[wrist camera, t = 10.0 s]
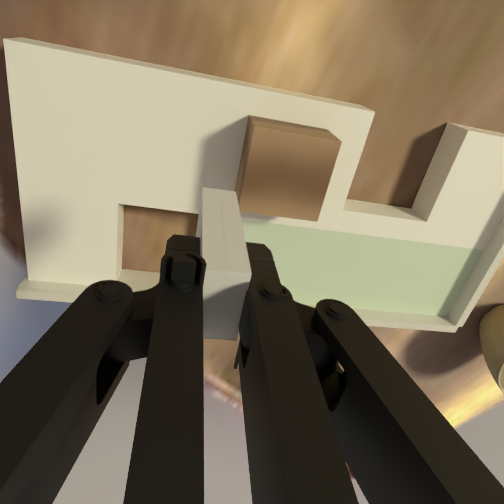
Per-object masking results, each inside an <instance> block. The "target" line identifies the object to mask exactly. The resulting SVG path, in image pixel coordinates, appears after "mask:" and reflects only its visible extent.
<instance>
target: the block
mask: <svg viewBox="0 0 504 504" xmlns="http://www.w3.org/2000/svg"><path fill="white" fill-rule="evenodd" d="M341 143H342V141H341V140H339V139H338V138H337V137H336V136H335V135H333V134H332V133H331V132H330V131H329V130H327V129H322V128H317V127H312V126H306V125H301V124H295V123H290V122H285V121H279V120H274V119H268V118H263V117H258V116H252V115H249V116H248V121H247V127H246V132H245V138H244V143H243V148H242V154H241V159H240V165H239V170H238V175H237V181H236V186H235V192H236V195H237V200H238V205H239V210H240V212H248V213H255V214H263V215H270V216H277V217H285V218H292V219H300V220H307V221H315V222H317V221H318V218H319V215H320V211H321V208H322V205H323V202H324V198H325V195H326V192H327V189H328V185H329V182H330V179H331V176H332V172H333V169H334V166H335V163H336V159H337V156H338V153H339V150H340V146H341Z"/></svg>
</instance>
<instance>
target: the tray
mask: <svg viewBox="0 0 504 504" xmlns="http://www.w3.org/2000/svg"><path fill="white" fill-rule="evenodd" d="M3 41H4V51H5V61H6V70H7V80H8V89H9V99H10V109H11V118H12V128H13V137H14V147H15V157H16V166H17V176H18V185H19V195H20V205H21V214H22V224H23V233H24V243H25V253H26V262H27V272H28V273H27V275H26V276H25V278H24V279H23V281H22V282H21V283H20V285H19V286H18V288H17V289H16V296H17V298H22V299H34V300H47V301H60V302H72V303H73V302H74V301H75V300H76V299H77V298H78V296H79V295H80V294H81V293H82V292H83V291H84V290H85V289H86V288H87V287H88V286H90V285H91V284H93V283H96V282H98V281H103V280H116V281H121V282H123V283H126V284H127V285H129V286H130V287H131V288H132V291H133V292H136V291H142V290H147V289H150V288H152V287H154V286H155V285H157V284H158V283H159V279H160V273H158V272H147V271H137V270H127V269H122V247H123V219H124V204H125V205H133V206H141V207H149V208H157V209H164V210H172V211H180V212H188V213H196V214H199V209H200V202H201V195H202V187H205V188H213V189H220V190H227V191H234V192H235V186H236V181H237V175H238V170H239V165H240V159H241V154H242V148H243V143H244V138H245V132H246V127H247V121H248V116H249V115H252V116H258V117H263V118H268V119H274V120H279V121H285V122H290V123H295V124H301V125H306V126H312V127H317V128H322V129H327V130H329V131H330V132H331V133H332V134H333V135H335V136H336V137H337V138H338V139H339V140H341V141H342V143H341V146H340V150H339V153H338V156H337V159H336V163H335V166H334V169H333V172H332V176H331V179H330V182H329V185H328V189H327V192H326V195H325V198H324V202H323V205H322V208H321V211H320V215H319V218H318V221H317V222H315V221H307V220H300V219H292V218H285V217H277V216H270V215H263V214H255V213H248V212H240V215H241V221H242V226H243V231H244V236H245V241H246V242H251V243H260V244H265V245H266V246H267V247H268V248H269V249H270V250H271V252H272V255H273V260H274V262H275V266H276V269H277V272H278V276H279V279H280V282H281V285H283V286H285V287H286V288H287V289H288V290H289V291H290V292H291V294H292V297H293V300H294V301H296V302H298V303H301V304H304V305H307V306H310V307H314V308H315V307H316V304H317V303H318V302H319V301H320V300H323V299H334V300H338V301H341V302H343V303H345V304H347V305H349V306H350V307H351V308H352V309H353V310H354V311H355V312H356V313H357V314H358V316H359V317H360V318H361V319H362V320H363V322H364V323H365V324H366V325H367V326H377V327H390V328H403V329H416V330H428V331H441V332H454V333H455V332H456V331H457V329H458V327H463V325H464V323H465V322H466V320H467V318H468V317H469V315H470V313H471V312H472V310H473V308H474V306H475V305H476V303H477V301H478V300H479V298H480V296H481V295H482V293H483V291H484V290H485V288H486V286H487V285H488V283H489V281H490V279H491V278H492V276H493V274H494V273H495V271H496V269H497V268H498V266H499V264H500V263H501V261H502V259H503V258H504V133H499V132H494V131H489V130H484V129H479V128H474V127H469V126H464V125H459V124H454V123H449V122H448V123H447V125H446V127H445V130H444V132H443V135H442V137H441V139H440V142H439V144H438V146H437V149H436V151H435V153H434V156H433V158H432V160H431V163H430V165H429V167H428V170H427V172H426V174H425V177H424V179H423V181H422V184H421V186H420V188H419V191H418V193H417V195H416V198H415V200H414V202H413V205H412V207H411V208H405V207H398V206H392V205H385V204H378V203H371V202H364V201H358V200H351V199H346V198H347V195H348V192H349V189H350V186H351V183H352V180H353V177H354V174H355V171H356V168H357V165H358V162H359V159H360V156H361V153H362V150H363V147H364V144H365V141H366V138H367V135H368V132H369V129H370V126H371V123H372V120H373V117H374V114H375V112H374V111H372V110H370V109H368V108H366V107H364V106H362V105H359V104H354V103H349V102H344V101H339V100H334V99H329V98H324V97H319V96H314V95H309V94H304V93H299V92H294V91H289V90H284V89H279V88H274V87H269V86H264V85H259V84H254V83H249V82H244V81H239V80H233V79H228V78H223V77H218V76H213V75H208V74H203V73H198V72H193V71H188V70H183V69H178V68H173V67H168V66H163V65H158V64H153V63H148V62H143V61H138V60H133V59H128V58H123V57H118V56H113V55H108V54H103V53H98V52H93V51H88V50H83V49H78V48H73V47H68V46H63V45H58V44H53V43H48V42H43V41H38V40H33V39H28V38H23V37H21V38H7V39H3Z"/></svg>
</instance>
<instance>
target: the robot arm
mask: <svg viewBox="0 0 504 504" xmlns="http://www.w3.org/2000/svg"><path fill="white" fill-rule="evenodd" d="M238 331H239V333H240V342H239V346H238V350H237V354H236V359H235V363H234V369H237V366H238V363H239V373H240V383H241V393H242V403H243V413H244V423H245V433H246V442H247V453H248V463H249V473H250V483H251V493H252V502H253V504H359V503H358V500H357V497H356V494H355V491H354V487H353V484H352V481H351V478H350V475H349V472H348V469H347V466H346V463H347V465H348V467H349V468H350V470H351V472H352V474H353V476H354V477H355V479H356V481H357V483H358V485H359V487H360V488H361V490H362V492H363V494H364V496H365V497H366V499H367V501H368V503H369V504H504V488H503V486H502V485H501V484H500V483H499V481H498V480H497V479H496V478H495V477H494V475H493V474H492V473H491V472H490V471H489V470H488V468H487V467H486V466H485V465H484V464H483V462H482V461H481V460H480V459H479V458H478V456H477V455H476V454H475V453H474V452H473V451H472V449H471V448H470V447H469V446H468V445H467V444H466V442H465V441H464V440H463V439H462V438H461V436H460V435H459V434H458V433H457V432H456V430H455V429H454V428H453V427H452V426H451V425H450V423H449V422H448V421H447V420H446V419H445V417H444V416H443V415H442V414H441V413H440V412H439V410H438V409H437V408H436V407H435V406H434V404H433V403H432V402H431V401H430V400H429V398H428V397H427V396H426V395H425V394H424V393H423V391H422V390H421V389H420V388H419V387H418V385H417V384H416V383H415V382H414V381H413V380H412V378H411V377H410V376H409V375H408V374H407V372H406V371H405V370H404V369H403V368H402V367H401V365H400V364H399V363H398V362H397V361H396V359H395V358H394V357H393V356H392V355H391V354H390V352H389V351H388V350H387V349H386V348H385V346H384V345H383V344H382V343H381V342H380V340H379V339H378V338H377V337H376V336H375V335H374V333H373V332H372V331H371V330H370V329H369V327H368V326H367V325H366V324H365V323H364V322H363V320H362V319H361V318H360V317H359V316H358V314H357V313H356V312H355V311H354V310H353V309H352V308H351V307H350V306H349V305H347V304H345V303H343V302H341V301H338V300H334V299H323V300H320V301H319V302H318V303H317V304H316V307H315V308H314V307H310V306H307V305H304V304H301V303H298V302H296V301H294V300H293V297H292V294H291V292H290V291H289V290H288V289H287V288H286V287H285V286H283V285H281V282H280V279H279V276H278V272H277V269H276V266H275V262H274V260H273V255H272V252H271V250H270V249H269V248H268V247H267V246H266V245H265V244H260V243H251V242H246V241H245V236H244V231H243V226H242V221H241V215H240V210H239V205H238V200H237V195H236V192H234V191H227V190H220V189H213V188H205V187H202V195H201V202H200V209H199V217H198V224H197V231H196V237H191V236H183V235H173V236H172V237H171V238H169V239H168V240H167V245H166V251H165V255H164V256H163V257H162V259H161V268H160V279H159V283H158V284H157V285H155V286H154V287H152V288H150V289H147V290H142V291H136V292H133V291H132V288H131V287H130V286H129V285H127V284H126V283H123V282H121V281H116V280H103V281H98V282H96V283H93V284H91V285H90V286H88V287H87V288H86V289H85V290H84V291H83V292H82V293H81V294H80V295H79V296H78V298H77V299H76V300H75V301H74V302H73V303H72V304H71V305H70V306H69V307H68V309H67V310H66V311H65V312H64V313H63V314H62V315H61V316H60V317H59V319H58V320H57V321H56V322H55V323H54V324H53V325H52V326H51V327H50V329H49V330H48V331H47V332H46V333H45V334H44V335H43V336H42V337H41V338H40V340H39V341H38V342H37V343H36V344H35V345H34V346H33V348H31V350H30V351H29V352H28V353H27V354H26V355H25V356H24V357H23V359H21V361H20V362H19V363H18V364H17V365H16V366H15V367H14V368H13V369H12V371H11V372H10V373H9V374H8V375H7V376H6V377H5V378H4V379H3V380H2V382H1V383H0V504H52V503H53V501H54V500H55V498H56V496H57V494H58V492H59V490H60V489H61V487H62V485H63V483H64V481H65V480H66V478H67V476H68V474H69V473H70V471H71V469H72V467H73V465H74V463H75V462H76V460H77V458H78V456H79V454H80V453H81V451H82V449H83V447H84V445H85V443H86V442H87V440H88V438H89V436H90V435H91V433H92V431H93V429H94V427H95V426H96V423H97V422H98V420H99V418H100V416H101V415H102V413H103V411H104V409H105V407H106V406H107V404H108V402H109V400H110V398H111V397H112V395H113V393H114V391H115V389H116V388H117V386H118V384H119V382H120V380H121V379H122V377H123V375H124V373H125V371H126V370H127V368H128V366H129V362H130V360H134V359H139V358H145V357H147V361H146V367H145V373H144V380H143V386H142V392H141V398H140V404H139V411H138V417H137V422H136V429H135V435H134V441H133V448H132V453H131V460H130V466H129V472H128V478H127V484H126V491H125V497H124V502H123V504H204V403H203V401H204V394H203V338H207V339H222V340H237V336H238ZM339 363H340V364H341V366H342V367H343V369H344V371H343V370H342V369H341V368H340V366H339V365H338V364H339ZM345 461H346V462H345Z"/></svg>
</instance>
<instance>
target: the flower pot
mask: <svg viewBox="0 0 504 504" xmlns="http://www.w3.org/2000/svg"><path fill="white" fill-rule="evenodd" d="M479 334H480V343H481V348H482V352H483V355H484V358H485V361H486V363H487V366H488V368H489V370H490V372H491V374H492V376H493V378H494V380H495V381H496V383H497V385H498V386H499V388H500V389H501V390H502V391H503V392H504V304H503V305H499V306H497V307H495V308H493V309H491V310H490V311H489V312H488V313H486V314H485V316H484V317H483V318H482V320H481V322H480V325H479Z"/></svg>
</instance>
